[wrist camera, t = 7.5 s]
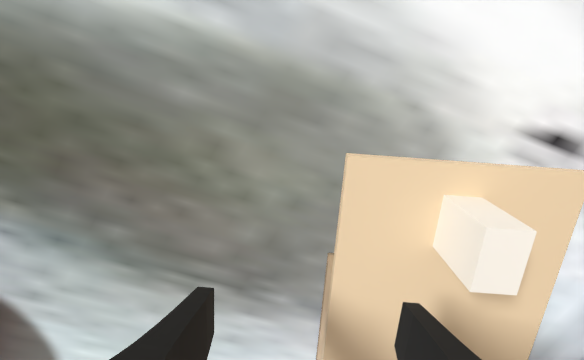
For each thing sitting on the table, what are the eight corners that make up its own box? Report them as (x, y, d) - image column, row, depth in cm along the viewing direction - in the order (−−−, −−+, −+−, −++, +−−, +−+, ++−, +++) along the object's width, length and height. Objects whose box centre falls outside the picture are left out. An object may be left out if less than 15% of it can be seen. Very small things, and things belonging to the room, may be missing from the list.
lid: (510, 383, 21) (566, 463, 16) (320, 369, 21) (325, 445, 16) (583, 170, 17) (685, 201, 12) (346, 153, 17) (362, 177, 12)
